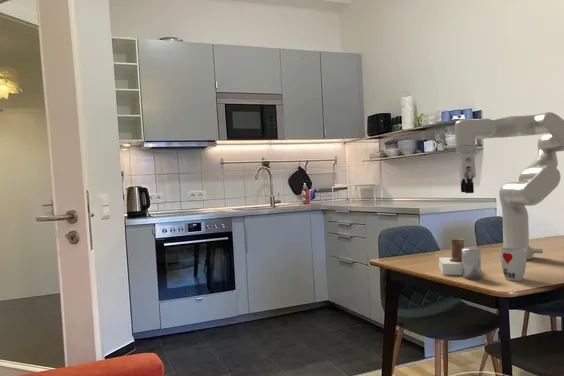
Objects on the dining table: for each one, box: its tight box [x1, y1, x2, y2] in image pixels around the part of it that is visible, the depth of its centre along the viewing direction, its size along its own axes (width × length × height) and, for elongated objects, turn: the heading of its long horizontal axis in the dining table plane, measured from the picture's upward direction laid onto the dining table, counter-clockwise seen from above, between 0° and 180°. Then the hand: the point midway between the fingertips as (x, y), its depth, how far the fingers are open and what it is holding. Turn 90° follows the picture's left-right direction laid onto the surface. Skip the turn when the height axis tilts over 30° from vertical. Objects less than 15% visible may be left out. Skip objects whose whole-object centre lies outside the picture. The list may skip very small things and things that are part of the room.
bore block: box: [438, 257, 462, 276], centre depth 160 cm, size 12×12×4 cm
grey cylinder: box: [461, 247, 482, 281], centre depth 150 cm, size 6×6×10 cm
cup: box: [499, 247, 527, 282], centre depth 146 cm, size 8×8×10 cm
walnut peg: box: [450, 237, 465, 262], centre depth 160 cm, size 4×4×12 cm
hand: (467, 192), depth 176 cm, fingers open, 9 cm apart
